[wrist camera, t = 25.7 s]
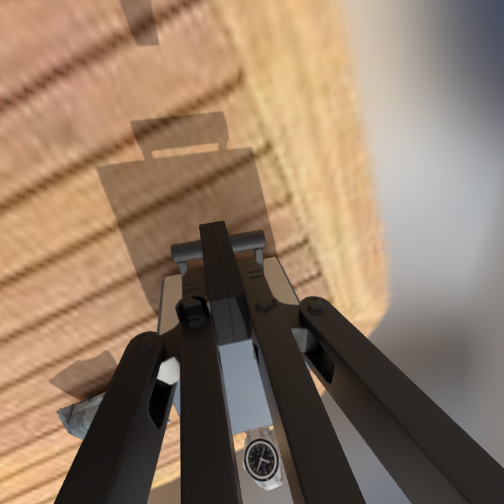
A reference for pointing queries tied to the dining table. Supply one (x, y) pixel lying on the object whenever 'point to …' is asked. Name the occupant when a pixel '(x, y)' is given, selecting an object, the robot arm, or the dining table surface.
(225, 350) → the cabinet
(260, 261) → the drawer
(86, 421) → the packaged food
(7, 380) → the dining table surface
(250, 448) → the watch
